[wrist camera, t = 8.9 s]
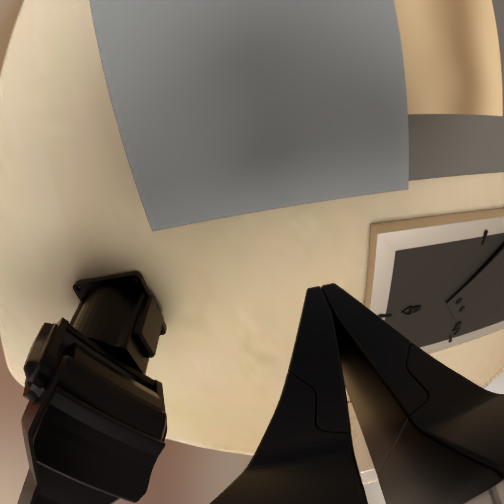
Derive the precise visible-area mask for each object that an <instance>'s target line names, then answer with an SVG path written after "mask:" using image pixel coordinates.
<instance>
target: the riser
mask: <svg viewBox="0 0 504 504" xmlns="http://www.w3.org/2000/svg"><path fill="white" fill-rule="evenodd" d="M90 6H91V12H92V17H93V23H94V28H95V33H96V38H97V43H98V48H99V52H100V57H101V61H102V66H103V70H104V74H105V79H106V83H107V87H108V91H109V95H110V99H111V102H112V106H113V110H114V114H115V117H116V121H117V124H118V128H119V132H120V135H121V138H122V142H123V145H124V149H125V152H126V155H127V158H128V162H129V165H130V168H131V171H132V174H133V177H134V180H135V183H136V187H137V190H138V193H139V195H140V198H141V201H142V204H143V207H144V210H145V213H146V216H147V219H148V221H149V224H150V227H151V230H152V231H157V230H162V229H167V228H172V227H177V226H182V225H187V224H192V223H198V222H203V221H208V220H214V219H219V218H225V217H230V216H236V215H241V214H247V213H253V212H259V211H265V210H270V209H276V208H283V207H289V206H295V205H301V204H308V203H314V202H320V201H327V200H334V199H341V198H347V197H354V196H362V195H369V194H376V193H384V192H391V191H399V190H407V189H408V180H409V132H408V108H407V93H406V81H405V71H404V61H403V53H402V46H401V39H400V32H399V26H398V20H397V15H396V9H395V4H394V0H90Z"/></svg>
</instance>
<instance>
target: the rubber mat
mask: <svg viewBox="0 0 504 504" xmlns="http://www.w3.org/2000/svg"><path fill="white" fill-rule="evenodd" d="M492 5H493V10H494V15H495V21H496V27H497V34H498V41H499V49H500V60H501V72H502V96H503V116H491V115H471V114H408V132H409V180H408V181H411V180H420V179H429V178H439V177H449V176H460V175H472V174H484V173H498V172H504V0H492Z"/></svg>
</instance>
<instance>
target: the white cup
mask: <svg viewBox="0 0 504 504" xmlns="http://www.w3.org/2000/svg"><path fill="white" fill-rule="evenodd" d="M348 410H349V417H350V425H351V435H352V441H353V448H354V453H355V458H356V461H357V465H358V468H359V472H360V476H361V479H362V483H363V485H364V484H368V483H371V482H374V481H377V480H378V477H377V474H376V471H375V468H374V465H373V462H372V459H371V457H370V454H369V451H368V448H367V445H366V442H365V439H364V436H363V434H362V431H361V428H360V425H359V422H358V420H357V417H356V414H355V411H354V409H353V406H352V403H351V402H349V403H348Z"/></svg>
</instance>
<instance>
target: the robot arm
mask: <svg viewBox="0 0 504 504" xmlns="http://www.w3.org/2000/svg"><path fill="white" fill-rule="evenodd" d="M134 278H137V279H138V280H136V279H134ZM79 287H80V288H79ZM73 289H74V291H75V293H76V295H77V296H78V298H79V300H80V301H81V302H80V304H79V306H78V308H77V310H76V312H75V314H74V315H73V317H72V319H71V321H70V323H69V322H68V321H67V320H66V319H64V318H63V317H62V318H61V319H60V321H59V322H58V323H57V324H56V323H55V324H54V323H53V324H50V323H44V324H43V326H42V327H41V329H40V331H39V333H38V335H37V337H36V339H35V341H34V343H33V345H32V347H31V349H30V352H29V354H28V357H27V359H26V362H25V365H24V372H25V375H26V380H25V388H24V393H23V396H24V397H25V398H27V399H28V400H29V402H28V405H27V407H26V409H25V412H24V414H23V417H22V420H21V421H22V429H23V436H24V442H25V447H26V452H27V457H28V462H29V471H28V474H27V477H26V479H25V482H24V485H23V488H22V491H21V494H20V498H19V500H18V504H112V503H114V502H116V501H117V500H119V499H120V498H121V499H124V500H127V501H130V502H134V503H135V502H137V501H139V500H140V498H141V497H142V496H143V495H144V494H145V493H146V491H147V488H148V484H149V479H150V475H151V472H152V469H153V466H154V464H155V462H156V460H157V458H158V456H159V454H160V453H161V451H162V450H163V448H164V447H165V443H164V440H165V437H166V433H167V416H166V412H165V404H164V396H163V387H162V383H161V382H159V381H157V380H153V379H151V378H150V377H148V376H146V375H145V374H146V369H147V365H148V361H149V358H152V357H154V355H155V353H156V348H157V344H158V340H159V336H160V335H164V334H165V333H166V326H165V324H164V322H163V316H162V314H161V312H160V310H159V308H158V306H157V304H156V302H155V300H154V297H153V296H152V295H150V293H149V291H148V288H147V286H146V284H145V282H144V280H143V277H142V276H141V274H140V273H138V272H129V273H123V274H117V275H111V276H105V277H99V278H93V279H87V280H81V281H76V282H75V284H74V285H73ZM161 329H162V330H161ZM345 387H346V389H345ZM346 390H347V392H348V395H349V398H350V400H351V403H352V406H353V409H354V411H355V414H356V417H357V420H358V422H359V425H360V428H361V431H362V434H363V436H364V439H365V442H366V445H367V448H368V451H369V454H370V457H371V459H372V462H373V465H374V468H375V471H376V474H377V477H378V480H379V483H380V486H381V490H382V493H383V496H384V499H385V501H386V504H504V394H496V393H493V392H490V391H487V390H485V389H483V388H481V387H480V386H478V385H476V384H475V383H473V382H471V381H470V380H468V379H466V378H465V377H463V376H462V375H460V374H458V373H457V372H455V371H453V370H452V369H450V368H448V367H447V366H445V365H444V364H442V363H441V362H439V361H438V360H436V359H434V358H433V357H432V356H430V355H429V354H428V353H426V352H425V351H424V350H422V349H421V348H420V347H418V346H417V345H416V344H414V343H413V342H411V341H410V340H409V339H408V338H406V337H405V336H404V335H403V334H401V333H400V332H399V331H397V330H396V329H395V328H393V327H392V326H391V325H390V324H388V323H387V322H386V321H384V320H383V319H382V318H380V317H379V316H378V315H376V314H375V313H374V312H372V311H371V310H370V309H368V308H367V307H366V306H364V305H363V304H362V303H361V302H359V301H358V300H357V299H355V298H354V297H353V296H351V295H350V294H349V293H347V292H346V291H345V290H343V289H342V288H341V287H339V286H338V285H336V284H335V283H331V284H327V285H322V287H320V286H317V287H312V288H308V289H307V291H306V296H305V300H304V305H303V309H302V314H301V318H300V323H299V327H298V332H297V336H296V340H295V344H294V349H293V353H292V357H291V361H290V365H289V369H288V373H287V376H286V380H285V384H284V387H283V390H282V394H281V397H280V400H279V402H278V405H277V407H276V410H275V412H274V415H273V417H272V419H271V421H270V423H269V425H268V427H267V430H266V432H265V434H264V436H263V438H262V440H261V442H260V444H259V446H258V448H257V450H256V452H255V454H254V456H253V458H252V459H251V461H250V463H249V464H248V466H247V467H246V468H245V470H244V471H243V472H242V473H241V474H240V475H239V476H238V478H236V479H235V480H234V481H233V482H232V483H231V484H230V485H229V486H228V487H227V488H226V489H225V490H224V491H223V492H222V493H221V494H220V495H219V496H218V497H217V498H215V500H213V501H212V502H211V503H210V504H368V502H367V498H366V494H365V491H364V487H363V483H362V479H361V476H360V472H359V468H358V465H357V461H356V458H355V453H354V448H353V441H352V435H351V425H350V417H349V410H348V402H347V395H346Z"/></svg>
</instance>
